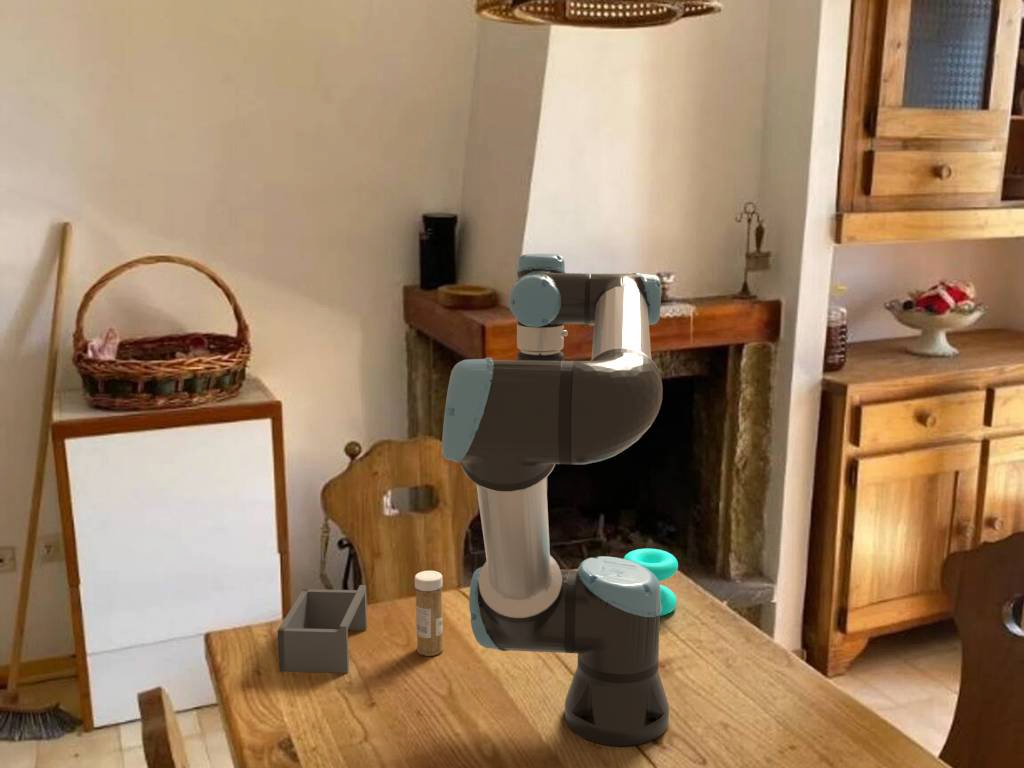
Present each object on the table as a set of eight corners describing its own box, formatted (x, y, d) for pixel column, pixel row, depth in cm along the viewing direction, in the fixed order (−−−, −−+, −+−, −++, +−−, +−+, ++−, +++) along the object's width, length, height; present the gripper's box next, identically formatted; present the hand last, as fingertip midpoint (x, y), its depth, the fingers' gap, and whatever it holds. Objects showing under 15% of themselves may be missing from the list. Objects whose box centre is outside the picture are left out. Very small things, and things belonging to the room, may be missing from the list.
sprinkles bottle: (448, 652, 163) (447, 576, 160) (424, 659, 161) (422, 582, 158) (435, 641, 167) (434, 567, 164) (411, 648, 165) (409, 573, 162)
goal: (347, 673, 156) (346, 626, 155) (279, 671, 157) (277, 624, 155) (367, 627, 172) (365, 585, 170) (304, 626, 173) (303, 583, 171)
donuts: (655, 571, 171) (611, 556, 178) (653, 624, 174) (610, 607, 181) (689, 556, 178) (645, 542, 185) (687, 607, 180) (644, 591, 187)
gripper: (564, 365, 146) (562, 501, 150) (563, 338, 170) (562, 456, 175) (513, 364, 146) (513, 500, 151) (520, 337, 171) (520, 455, 175)
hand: (539, 477), depth 163 cm, fingers open, 13 cm apart
